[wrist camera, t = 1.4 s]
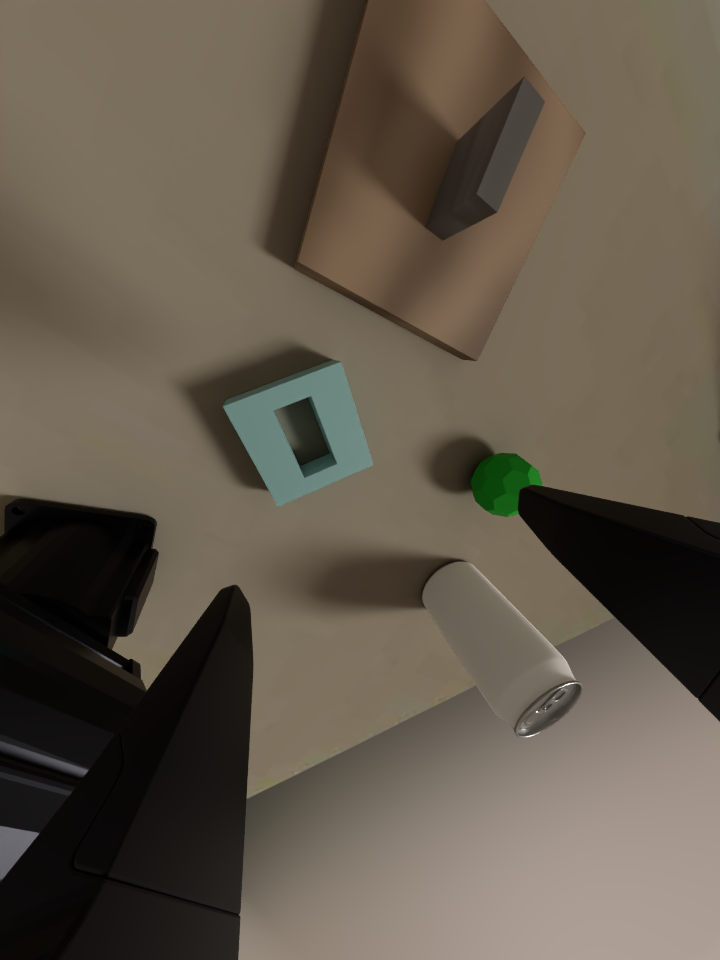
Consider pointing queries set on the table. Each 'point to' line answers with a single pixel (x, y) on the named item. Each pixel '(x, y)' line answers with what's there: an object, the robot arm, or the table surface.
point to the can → (501, 650)
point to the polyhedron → (502, 482)
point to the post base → (436, 170)
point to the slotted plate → (271, 444)
